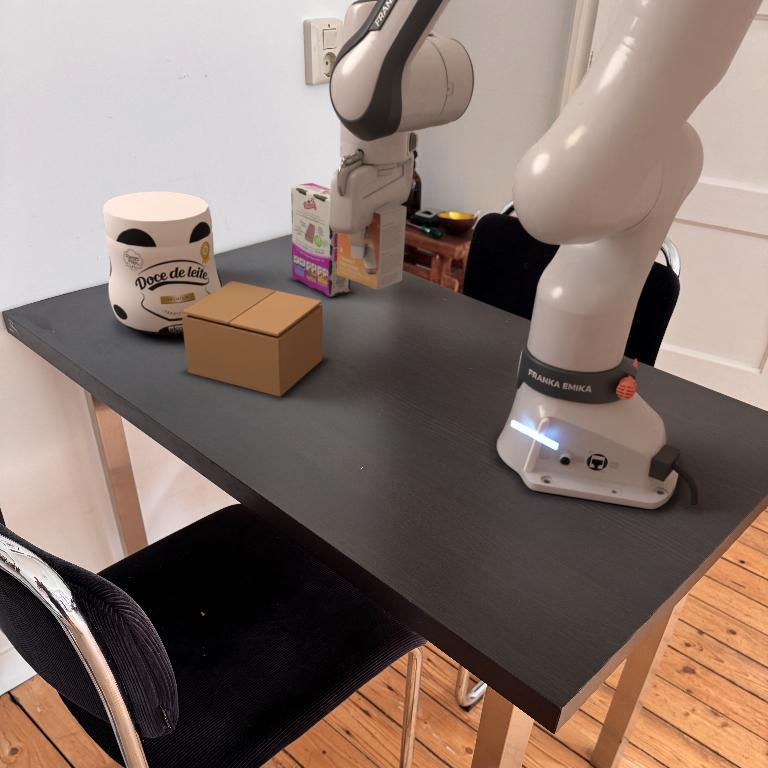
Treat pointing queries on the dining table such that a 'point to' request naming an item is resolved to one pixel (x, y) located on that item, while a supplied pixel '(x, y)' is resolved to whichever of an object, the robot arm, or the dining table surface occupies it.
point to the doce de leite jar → (158, 258)
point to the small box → (377, 250)
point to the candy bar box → (315, 241)
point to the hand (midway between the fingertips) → (370, 249)
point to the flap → (276, 313)
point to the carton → (248, 342)
